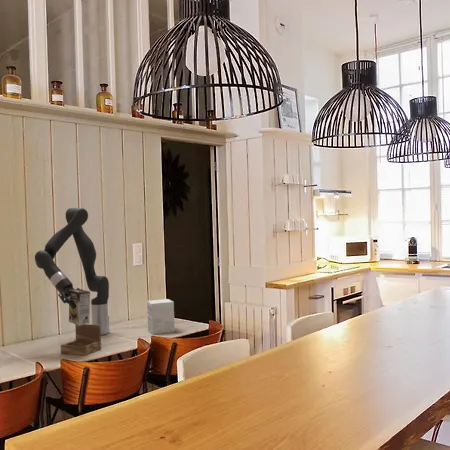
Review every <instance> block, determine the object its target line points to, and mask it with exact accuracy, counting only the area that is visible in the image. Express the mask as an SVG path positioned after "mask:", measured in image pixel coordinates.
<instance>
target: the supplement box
mask: <svg viewBox="0 0 450 450" xmlns="http://www.w3.org/2000/svg"><path fill="white" fill-rule="evenodd" d="M146 305H147V306H146V309H147V331H148V332H149V333H150V334H151V335H158V334H159V335H160V334H168V333H175V330H176V329H175V328H176V327H175V324H176V323H175V306H174V305H175V302H174V300H171V299H169V298H163V299H155V300H154V299H152V300H147V301H146Z"/></svg>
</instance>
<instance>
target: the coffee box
mask: <svg viewBox="0 0 450 450" xmlns="http://www.w3.org/2000/svg"><path fill="white" fill-rule="evenodd" d="M74 289H75V288H74ZM69 292H70V294H71V296H72V297H71V301H73V302H74V303H75V304H76V307H75V309H73V308H72V307H71V306H70V305H69V304H68V323H70V324H73V325H75V324H76V325H84V324H90V313H91V310H90V309H91V308H90V307H91V291H90V290H84V289H81V288H79V289H77V288H76V289H75V290H69Z"/></svg>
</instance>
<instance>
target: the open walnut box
mask: <svg viewBox="0 0 450 450" xmlns="http://www.w3.org/2000/svg"><path fill="white" fill-rule="evenodd" d="M74 325H75V340H72V341H69V342H65V343H63V344H61V345H60V353H61V355H62V354H63V355H75V356H76V355H77V356H87V355H90V354H92V353H94V352H97V351H100V350H101V349H102V338H101V337H102V335H101V331H100V325H92V324H90V323H89V324H84V325H76V324H74Z"/></svg>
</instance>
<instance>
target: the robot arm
mask: <svg viewBox="0 0 450 450" xmlns="http://www.w3.org/2000/svg"><path fill="white" fill-rule="evenodd" d="M88 218H89V213H88V211H87V209H85V208H84V207H70V208H68V209H67V210H66V211H65V220H66V223H67V224H66V225H65V226H64V227H62V228H61V229H60V230H58V231H57V232H55V234H53V235H52V236H51V238H50V239H48V241H47V242H46V243H45V246H44V250H38V251H37V252H36V253H35V254H34V261H35V265H36V267H38V268H39V269H42V270H43V271H44V275H45V276H46V277H47V278H48V280H49V281H50V283H51V284H52V286H54V288H55V289H56V290H57V292H58V294H57V296H58V297H59V298H60V300H61V302H62V303H64V304H68V306H69V305H70V306H71V307H72V308H73V309H75V307H76V304H75V303H74V302H73V301H71V297H72V296H71V294H70V292H69V290H75V288H74V284H73V282H72V281H71V280H70V279H69V278H68V277H67V276H66V274H65V273H64V272H63V271H62V270H61V268H59V267H58V266H57V264H56V263H55V261H54V259H55V257H56V255H57V253H58V252H59V251H60V249H61V248H62V247H63V246H64V245H65V243H66V242H67V241H68V239H70V238H71V237H73V240H74V243H75V245H76V249H77V252H78V256H79V258H80V260H81V261H80V262H81V264H82V268H83V273H84V276H85V280H86V284H87V288H88V289H89V290H88V291H89V292H93V293H96V296H95V297H93V298H91V299H90V307H91V308H90V309H91V310H90V312H91V325H100V331H101V336H104V335H106V334H109V333H110V316H109V304H108V303H109V302H108V301H109V297H110V282H109V278H108V277H107V276H104V275H97V274H96V270H95V263H96V259H97V252H96V247H95V244H94V242H93V241H92V239H91V238H90V237H89V235H88V234H87V233H86V232H85V230H84V228H83V225H84V224H85V223H86V222H87V221H88ZM76 289H80V288H79V287H77V288H76Z"/></svg>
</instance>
